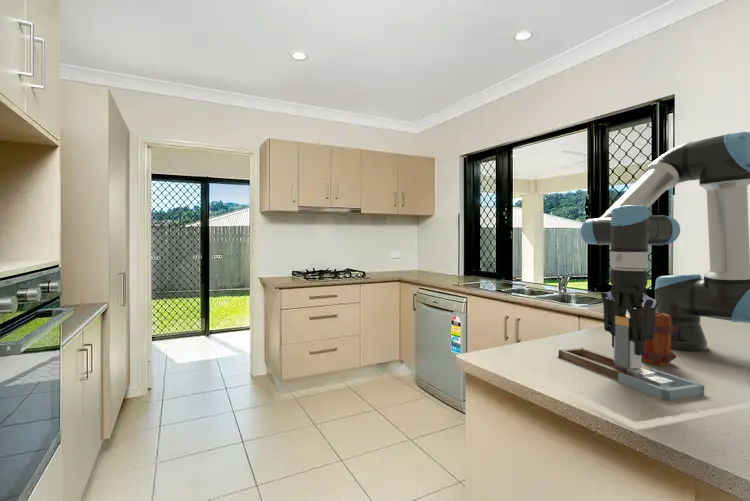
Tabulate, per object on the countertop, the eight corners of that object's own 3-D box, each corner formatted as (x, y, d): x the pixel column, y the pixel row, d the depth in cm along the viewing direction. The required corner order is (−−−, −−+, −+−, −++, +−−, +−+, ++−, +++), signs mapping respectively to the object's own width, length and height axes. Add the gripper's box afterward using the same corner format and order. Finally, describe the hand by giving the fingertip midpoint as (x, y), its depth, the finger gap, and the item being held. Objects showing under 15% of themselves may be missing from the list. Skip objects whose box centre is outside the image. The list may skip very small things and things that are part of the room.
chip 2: (656, 385, 86) (656, 375, 86) (674, 392, 82) (674, 381, 82) (643, 387, 85) (643, 376, 85) (660, 394, 81) (660, 383, 81)
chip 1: (639, 377, 90) (639, 367, 90) (656, 383, 86) (656, 373, 86) (626, 379, 89) (627, 369, 89) (643, 385, 85) (643, 374, 85)
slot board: (584, 356, 110) (584, 347, 110) (651, 381, 91) (651, 369, 90) (556, 359, 107) (556, 350, 107) (619, 385, 88) (619, 373, 88)
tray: (653, 380, 91) (653, 368, 91) (704, 399, 80) (704, 385, 80) (618, 385, 88) (618, 373, 88) (666, 405, 77) (666, 391, 77)
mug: (682, 371, 97) (683, 314, 97) (647, 369, 99) (648, 313, 98) (652, 355, 111) (653, 305, 111) (622, 353, 113) (622, 304, 113)
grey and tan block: (625, 370, 93) (626, 314, 93) (639, 375, 90) (640, 317, 90) (614, 371, 92) (615, 315, 92) (627, 376, 89) (628, 318, 89)
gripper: (588, 267, 98) (586, 356, 98) (650, 272, 82) (648, 378, 82) (610, 266, 100) (609, 353, 100) (675, 271, 84) (673, 374, 84)
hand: (627, 364), depth 91 cm, fingers closed on grey and tan block, 3 cm apart
